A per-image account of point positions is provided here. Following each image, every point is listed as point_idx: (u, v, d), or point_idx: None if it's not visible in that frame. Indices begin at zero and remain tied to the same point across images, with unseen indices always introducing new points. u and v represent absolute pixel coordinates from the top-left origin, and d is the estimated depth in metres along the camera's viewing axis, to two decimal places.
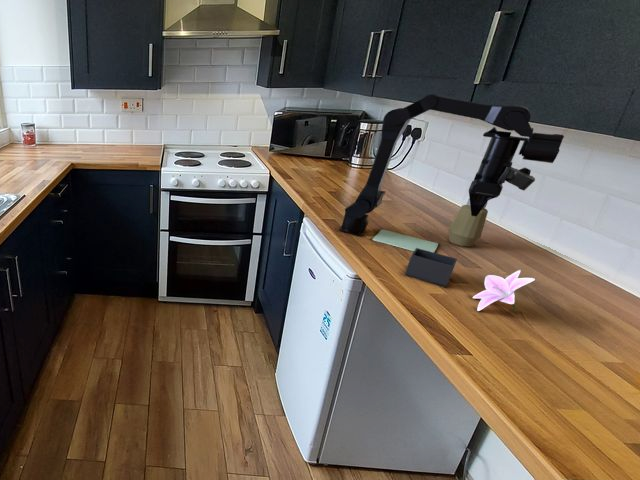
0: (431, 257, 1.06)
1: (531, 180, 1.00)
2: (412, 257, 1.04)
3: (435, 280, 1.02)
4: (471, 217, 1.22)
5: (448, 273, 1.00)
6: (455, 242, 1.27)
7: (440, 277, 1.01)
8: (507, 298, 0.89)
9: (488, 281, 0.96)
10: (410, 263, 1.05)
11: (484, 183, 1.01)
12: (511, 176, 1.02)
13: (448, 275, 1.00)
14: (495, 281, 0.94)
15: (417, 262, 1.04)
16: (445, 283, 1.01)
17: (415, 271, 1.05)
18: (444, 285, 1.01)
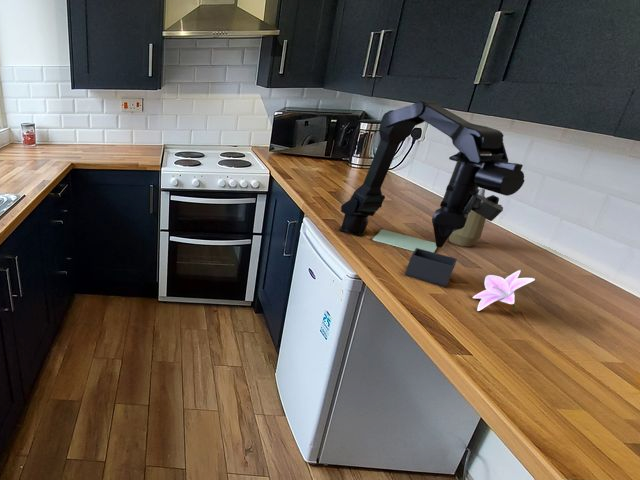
0: (431, 257, 1.06)
1: (498, 210, 0.91)
2: (412, 257, 1.04)
3: (435, 280, 1.02)
4: (471, 217, 1.22)
5: (448, 273, 1.00)
6: (455, 242, 1.27)
7: (440, 277, 1.01)
8: (507, 298, 0.89)
9: (488, 281, 0.96)
10: (410, 263, 1.05)
11: (448, 213, 0.92)
12: (477, 205, 0.93)
13: (448, 275, 1.00)
14: (496, 281, 0.94)
15: (417, 262, 1.04)
16: (445, 283, 1.01)
17: (415, 271, 1.05)
18: (444, 285, 1.01)
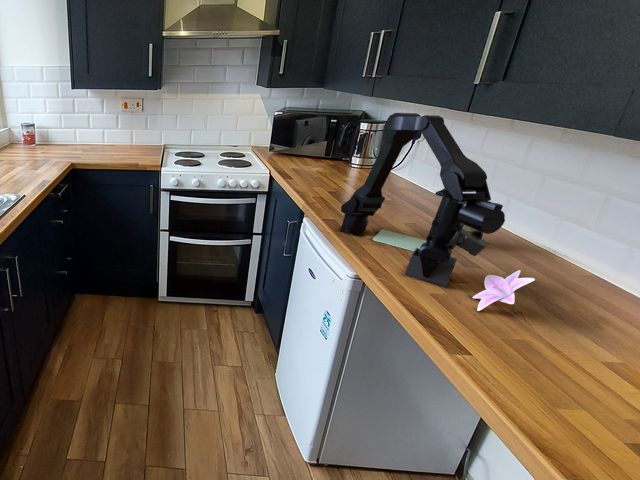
0: None
1: (481, 246, 0.95)
2: (412, 257, 1.04)
3: (435, 280, 1.02)
4: None
5: (448, 273, 1.00)
6: None
7: (440, 277, 1.01)
8: (507, 298, 0.89)
9: (488, 281, 0.96)
10: (410, 263, 1.05)
11: (432, 249, 0.96)
12: (461, 241, 0.97)
13: (448, 275, 1.00)
14: (496, 281, 0.94)
15: (417, 262, 1.04)
16: (445, 283, 1.01)
17: (415, 271, 1.05)
18: (444, 285, 1.01)
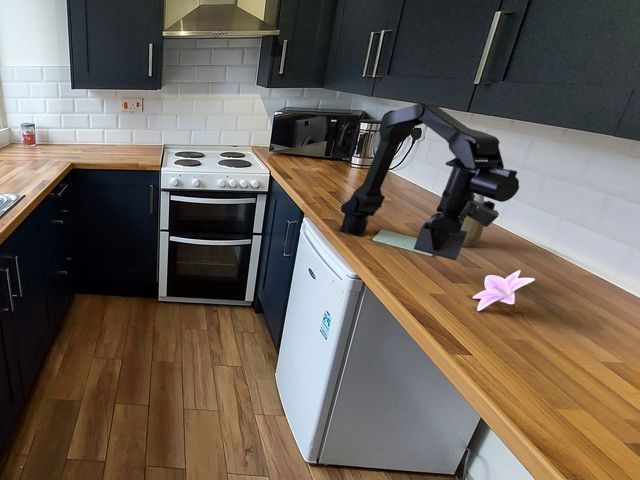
0: None
1: (494, 216, 0.92)
2: (421, 230, 1.01)
3: (445, 253, 0.99)
4: None
5: (459, 245, 0.97)
6: None
7: (450, 250, 0.99)
8: (507, 298, 0.89)
9: (488, 281, 0.96)
10: (419, 236, 1.02)
11: (443, 219, 0.93)
12: (473, 211, 0.94)
13: (459, 247, 0.97)
14: (496, 281, 0.94)
15: (427, 235, 1.01)
16: (456, 256, 0.98)
17: (424, 244, 1.02)
18: (454, 258, 0.98)
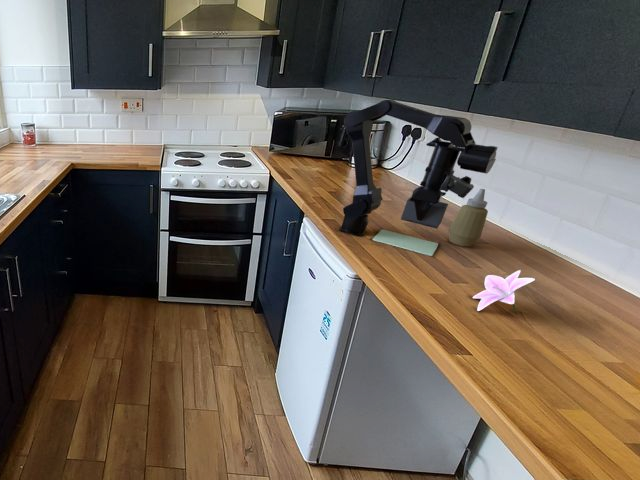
0: None
1: (469, 188, 1.06)
2: (407, 202, 1.16)
3: (428, 222, 1.14)
4: (471, 217, 1.22)
5: (439, 215, 1.11)
6: (455, 242, 1.27)
7: (432, 219, 1.13)
8: (507, 298, 0.89)
9: (488, 281, 0.96)
10: (406, 208, 1.16)
11: (424, 190, 1.07)
12: (451, 184, 1.08)
13: (439, 217, 1.11)
14: (496, 281, 0.94)
15: (412, 206, 1.15)
16: (436, 224, 1.12)
17: (410, 215, 1.16)
18: (436, 226, 1.12)
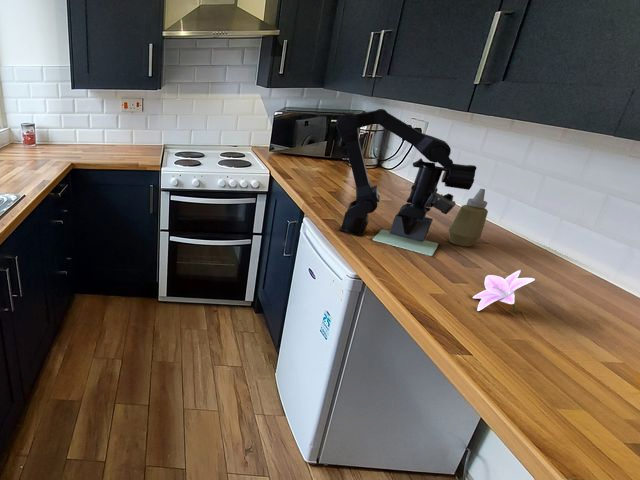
0: None
1: (451, 205, 1.15)
2: (395, 217, 1.24)
3: (414, 236, 1.22)
4: (471, 217, 1.22)
5: (425, 229, 1.20)
6: (455, 242, 1.27)
7: (418, 233, 1.21)
8: (507, 298, 0.89)
9: (488, 281, 0.96)
10: (394, 223, 1.25)
11: (411, 208, 1.16)
12: (435, 201, 1.17)
13: (425, 231, 1.20)
14: (495, 281, 0.94)
15: (399, 222, 1.24)
16: (422, 238, 1.21)
17: (398, 229, 1.25)
18: (422, 240, 1.21)
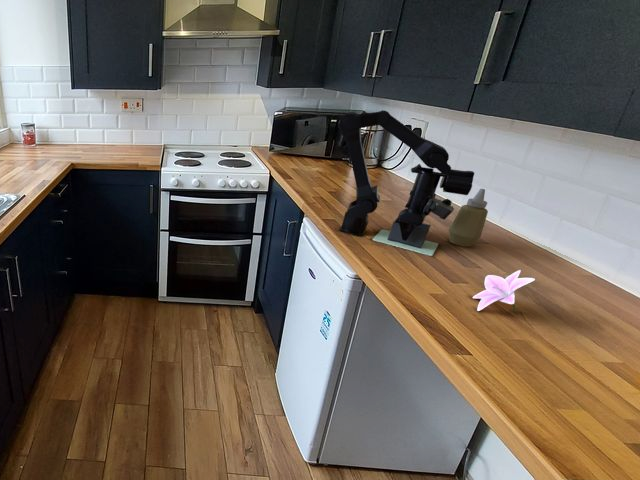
0: None
1: (449, 211, 1.15)
2: (393, 224, 1.25)
3: (412, 242, 1.23)
4: (471, 217, 1.22)
5: (422, 236, 1.21)
6: (455, 242, 1.27)
7: (416, 240, 1.22)
8: (507, 298, 0.89)
9: (488, 281, 0.96)
10: (392, 229, 1.26)
11: (409, 213, 1.16)
12: (433, 207, 1.17)
13: (422, 238, 1.21)
14: (496, 281, 0.94)
15: (397, 228, 1.25)
16: (420, 245, 1.22)
17: (396, 236, 1.26)
18: (419, 246, 1.22)
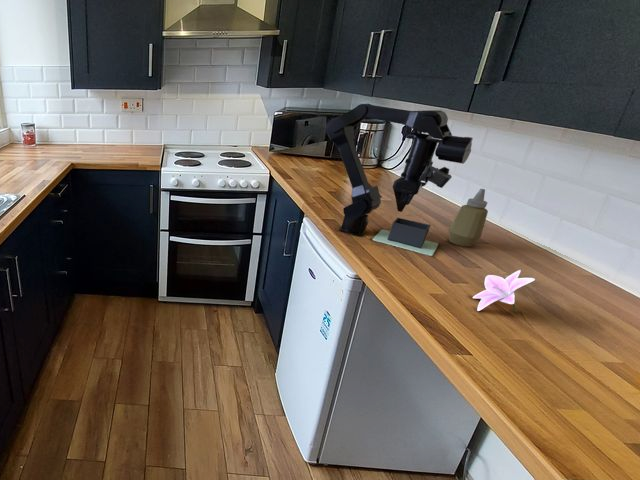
0: (409, 224, 1.27)
1: (447, 178, 1.10)
2: (393, 224, 1.25)
3: (412, 242, 1.23)
4: (471, 217, 1.22)
5: (422, 236, 1.21)
6: (455, 242, 1.27)
7: (416, 240, 1.22)
8: (507, 298, 0.89)
9: (488, 281, 0.96)
10: (392, 229, 1.26)
11: (405, 181, 1.11)
12: (430, 175, 1.12)
13: (422, 238, 1.21)
14: (496, 281, 0.94)
15: (397, 228, 1.25)
16: (420, 245, 1.22)
17: (396, 236, 1.26)
18: (419, 246, 1.22)
